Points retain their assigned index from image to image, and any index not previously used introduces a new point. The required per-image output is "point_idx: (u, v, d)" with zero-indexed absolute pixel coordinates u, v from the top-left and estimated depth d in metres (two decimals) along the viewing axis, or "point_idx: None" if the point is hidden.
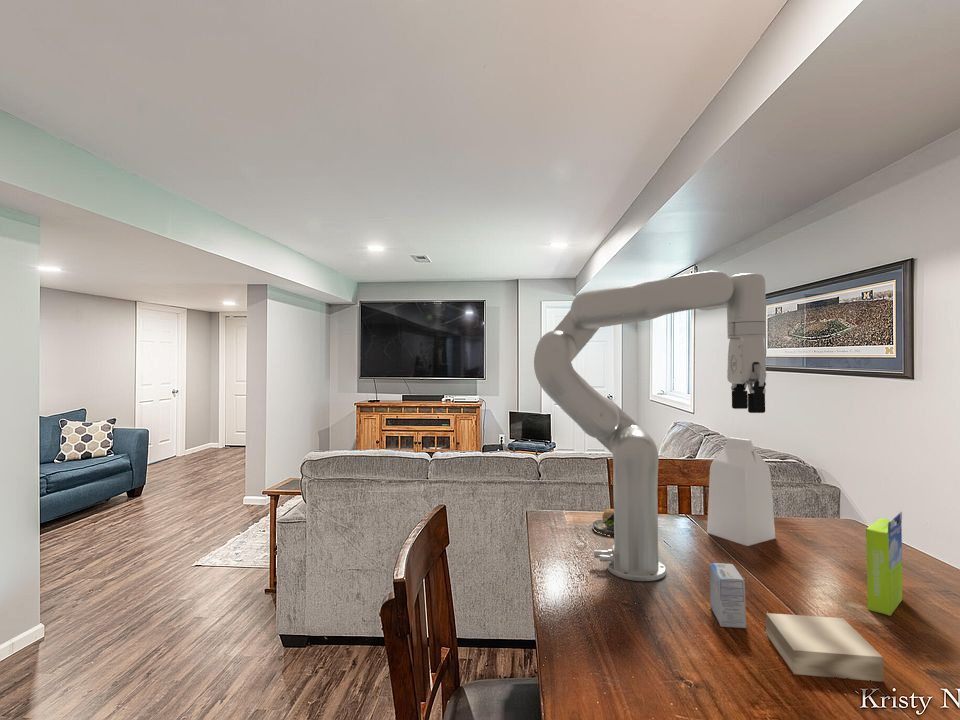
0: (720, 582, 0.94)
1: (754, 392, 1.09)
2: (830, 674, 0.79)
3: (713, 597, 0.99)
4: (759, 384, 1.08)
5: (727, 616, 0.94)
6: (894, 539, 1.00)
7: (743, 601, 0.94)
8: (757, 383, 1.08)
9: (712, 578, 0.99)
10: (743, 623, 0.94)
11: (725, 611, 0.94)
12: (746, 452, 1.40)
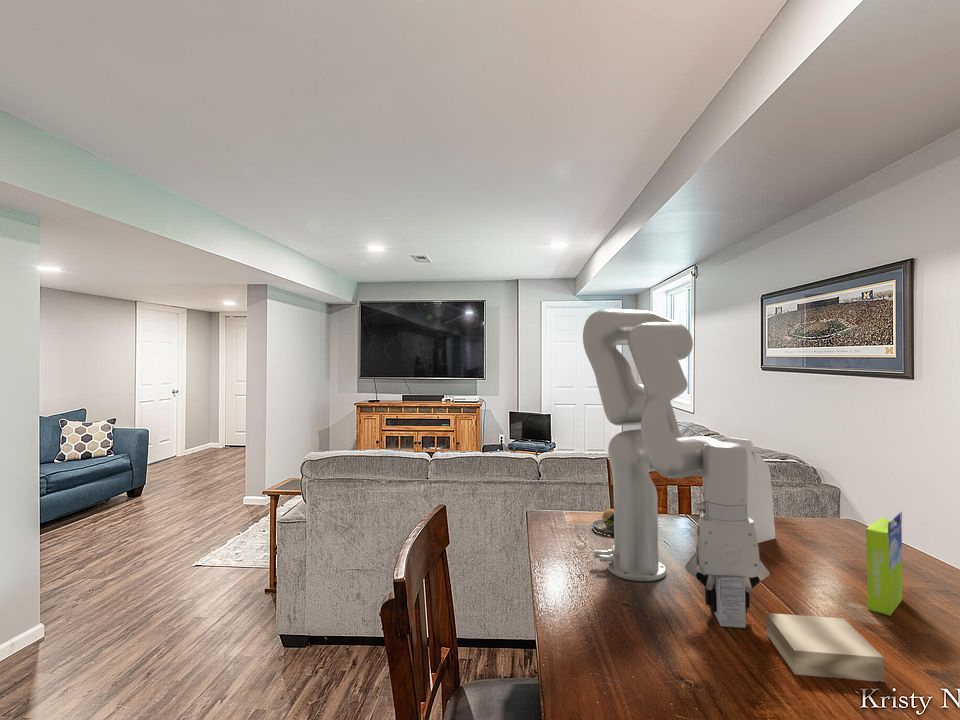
0: (720, 582, 0.94)
1: None
2: (831, 674, 0.79)
3: None
4: None
5: (727, 615, 0.94)
6: (894, 539, 1.00)
7: (743, 601, 0.94)
8: (759, 580, 0.96)
9: None
10: (743, 623, 0.94)
11: (725, 611, 0.94)
12: None
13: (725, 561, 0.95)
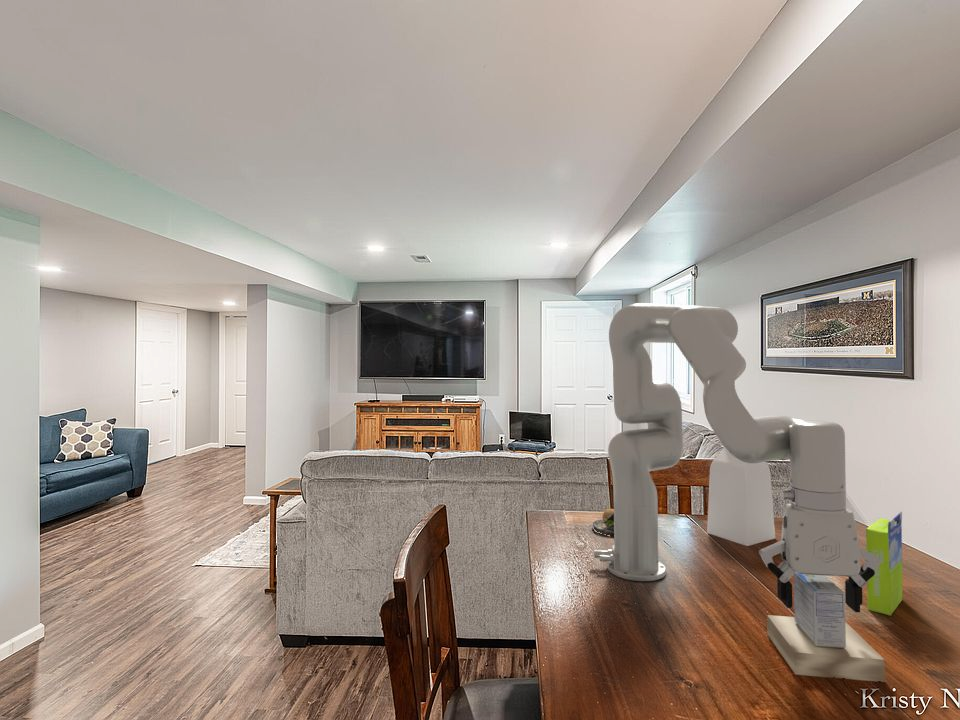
0: (816, 595, 0.81)
1: None
2: (832, 676, 0.79)
3: (801, 611, 0.86)
4: None
5: (823, 634, 0.81)
6: (894, 539, 1.00)
7: (843, 617, 0.81)
8: (873, 572, 0.83)
9: (800, 589, 0.86)
10: (842, 642, 0.81)
11: (821, 628, 0.81)
12: None
13: (820, 557, 0.82)
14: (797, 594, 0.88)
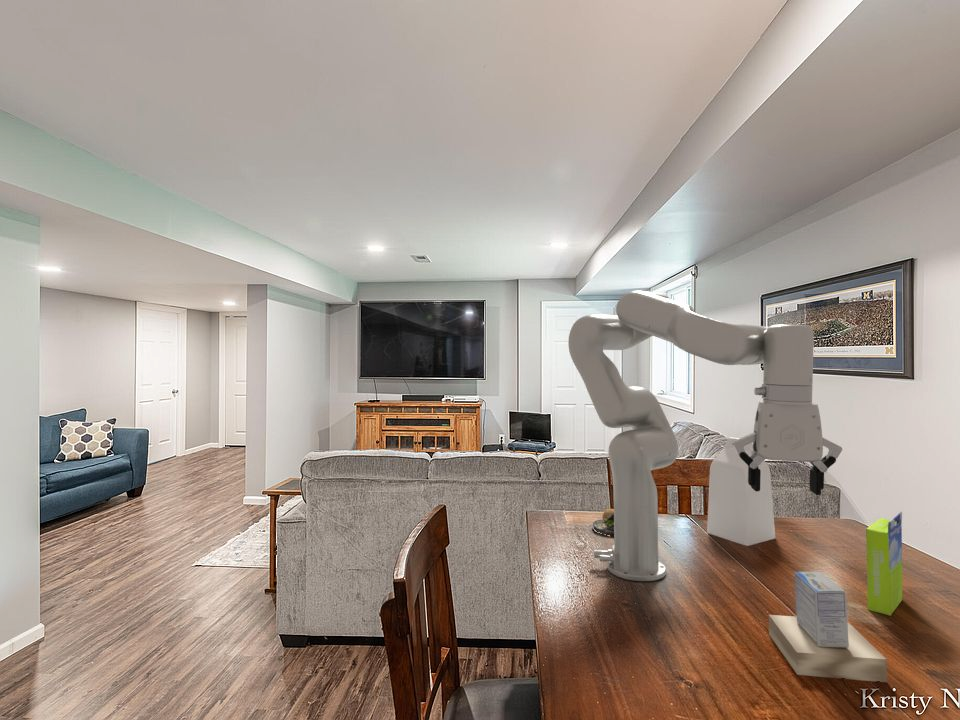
0: (817, 595, 0.81)
1: None
2: (833, 676, 0.79)
3: (803, 612, 0.86)
4: None
5: (826, 634, 0.81)
6: (894, 539, 1.00)
7: (845, 616, 0.81)
8: (835, 459, 0.92)
9: (801, 590, 0.86)
10: (845, 642, 0.80)
11: (824, 629, 0.81)
12: (746, 452, 1.40)
13: (786, 444, 0.91)
14: (798, 595, 0.87)
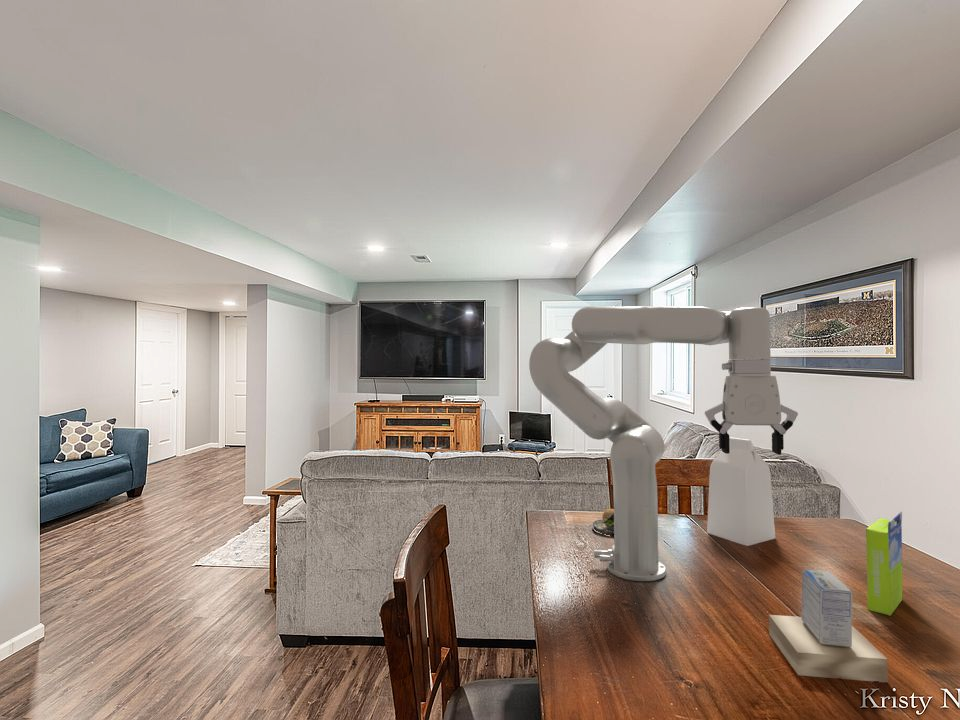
0: (823, 593, 0.81)
1: (784, 432, 1.06)
2: (834, 676, 0.79)
3: (808, 609, 0.86)
4: None
5: (829, 632, 0.81)
6: (894, 539, 1.00)
7: (850, 616, 0.81)
8: (792, 423, 1.06)
9: (808, 587, 0.86)
10: (848, 642, 0.81)
11: (827, 627, 0.81)
12: (746, 452, 1.40)
13: (750, 411, 1.06)
14: (805, 592, 0.88)
